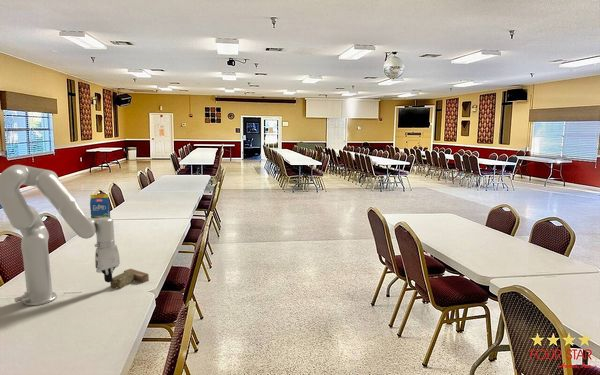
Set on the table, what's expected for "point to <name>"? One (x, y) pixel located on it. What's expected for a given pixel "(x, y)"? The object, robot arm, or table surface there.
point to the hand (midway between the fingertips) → (108, 281)
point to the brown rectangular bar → (139, 275)
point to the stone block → (122, 280)
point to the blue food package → (99, 206)
